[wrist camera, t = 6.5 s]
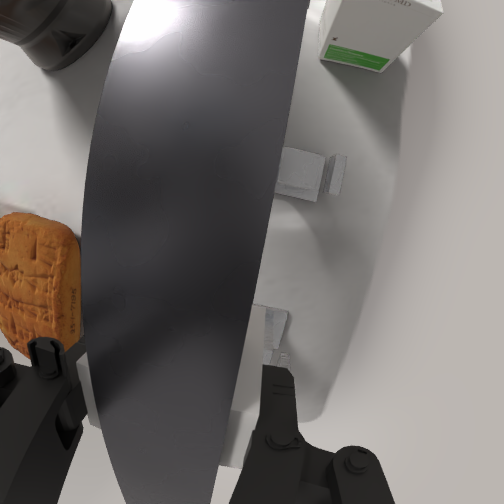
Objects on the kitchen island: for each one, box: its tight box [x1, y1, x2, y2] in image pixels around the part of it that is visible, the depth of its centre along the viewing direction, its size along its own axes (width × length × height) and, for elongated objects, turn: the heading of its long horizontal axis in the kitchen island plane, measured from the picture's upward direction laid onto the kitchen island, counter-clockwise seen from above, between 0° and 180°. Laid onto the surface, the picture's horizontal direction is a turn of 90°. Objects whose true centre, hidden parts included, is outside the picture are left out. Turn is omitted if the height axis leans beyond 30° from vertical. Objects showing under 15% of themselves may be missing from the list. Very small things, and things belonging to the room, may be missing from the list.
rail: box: [81, 0, 310, 504], centre depth 8 cm, size 27×4×4 cm, turn 170°
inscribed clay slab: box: [0, 212, 81, 359], centre depth 32 cm, size 22×17×8 cm
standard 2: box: [274, 147, 347, 202], centre depth 25 cm, size 5×6×10 cm
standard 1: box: [252, 304, 290, 371], centre depth 29 cm, size 5×6×10 cm
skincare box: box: [318, 0, 444, 73], centre depth 19 cm, size 8×7×16 cm
